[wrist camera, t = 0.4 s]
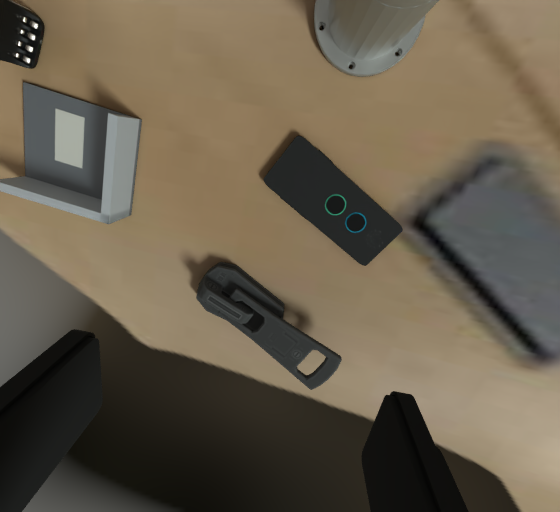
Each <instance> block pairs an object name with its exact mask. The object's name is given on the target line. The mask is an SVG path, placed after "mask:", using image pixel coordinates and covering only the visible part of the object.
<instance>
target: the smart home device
mask: <svg viewBox="0 0 560 512" xmlns="http://www.w3.org/2000/svg"><path fill="white" fill-rule="evenodd" d="M264 182H265V184H266V185H267V186H268V187H269V188H270V189H272V190H273V191H274V192H275V193H276V194H278V195H279V196H280V198H281V199H283V200H284V201H285V202H286V203H287V204H289V205H290V206H291V207H292V208H294V209H295V210H296V211H297V212H298V213H299V214H301V215H302V216H303V217H304V218H305V219H307V220H308V221H310V222H311V223H312V224H313V225H314V226H316V227H317V228H318V229H319V230H320V231H321V232H323V233H324V234H325V235H326V236H327V237H329V238H330V239H331V240H332V241H333V242H335V243H336V244H337V245H338V246H339V247H340V248H342V249H343V250H344V251H345V252H346V253H348V254H349V255H350V256H351V257H352V258H354V259H355V260H356V261H357V262H358V263H360V264H361V265H364V266H366V265H367V264H368V263H369V262H370V261H372V260H373V259H374V258H375V257H376V256H377V255H378V254H379V253H380V252H381V251H382V250H383V249H384V248H385V247H386V246H387V245H388V244H389V243H390V242H391V241H392V240H393V239H395V238H396V237H397V236H398V235H399V234H400V233H401V232H402V227H401V225H400V224H399V223H398V222H397V221H395V220H394V219H393V218H392V217H391V216H390V215H389V214H388V213H387V212H386V211H384V210H383V209H382V208H381V207H380V206H379V205H378V204H377V203H376V202H374V201H373V200H372V199H371V198H370V197H369V196H368V195H367V194H366V193H365V192H363V191H362V190H361V189H360V188H359V187H358V186H357V185H356V184H355V183H353V182H352V181H351V180H350V179H349V178H348V177H347V176H346V175H345V174H344V173H342V172H341V171H340V170H339V169H338V168H337V167H336V166H335V165H334V164H332V161H331V160H330V159H329V158H327V157H326V156H325V155H324V154H323V153H322V152H321V151H320V150H319V151H318V150H317V149H316V148H315V147H314V146H313V145H311V144H310V143H309V142H308V141H307V140H306V139H305V138H303V137H301V136H297V137H296V138H295V139H294V140H293V142H292V143H291V144H290V146H289V147H288V148H287V149H286V151H285V152H284V153H283V154H282V156H281V157H280V158H279V160H278V161H277V162H276V163H275V165H274V166H273V167H272V169H271V170H270V171H269V172H268V174H267V175H266V176H265V178H264Z"/></svg>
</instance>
